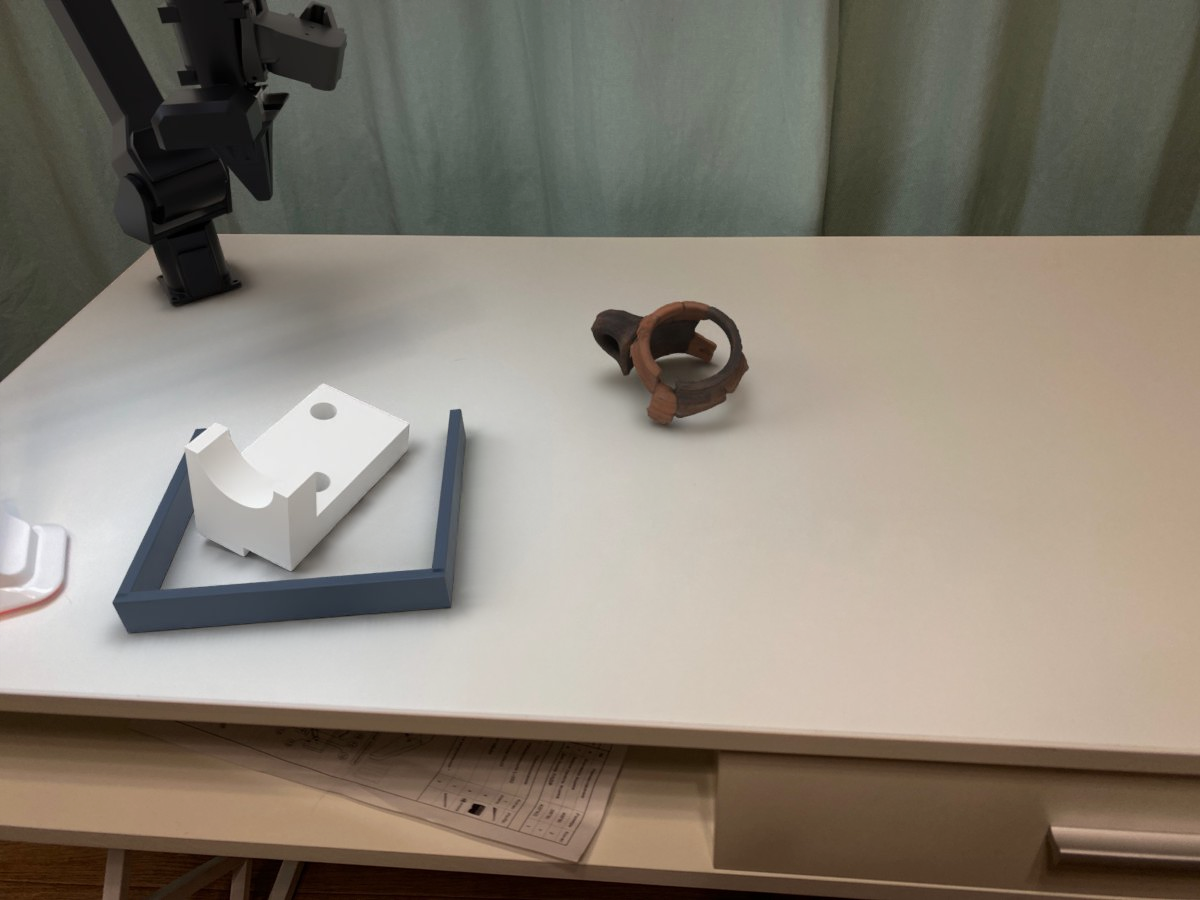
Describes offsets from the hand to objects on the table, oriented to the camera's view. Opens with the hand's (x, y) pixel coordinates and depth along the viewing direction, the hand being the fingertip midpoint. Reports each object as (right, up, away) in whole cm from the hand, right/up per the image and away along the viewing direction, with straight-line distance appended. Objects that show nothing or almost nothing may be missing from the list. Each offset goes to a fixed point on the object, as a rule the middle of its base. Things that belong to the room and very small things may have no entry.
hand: (265, 199), depth 74 cm
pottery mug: (+31, -15, -2) cm, 35 cm away
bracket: (+7, -23, -11) cm, 26 cm away
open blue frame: (+8, -24, -13) cm, 28 cm away
